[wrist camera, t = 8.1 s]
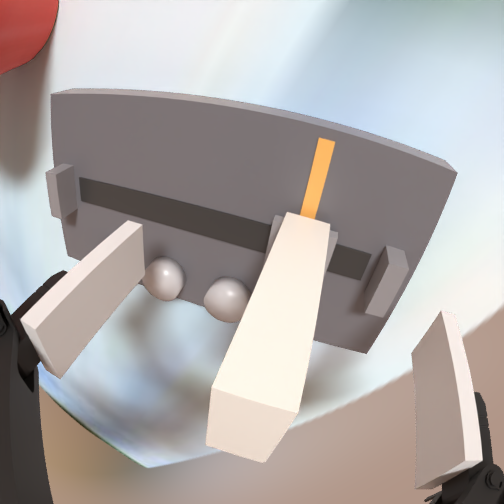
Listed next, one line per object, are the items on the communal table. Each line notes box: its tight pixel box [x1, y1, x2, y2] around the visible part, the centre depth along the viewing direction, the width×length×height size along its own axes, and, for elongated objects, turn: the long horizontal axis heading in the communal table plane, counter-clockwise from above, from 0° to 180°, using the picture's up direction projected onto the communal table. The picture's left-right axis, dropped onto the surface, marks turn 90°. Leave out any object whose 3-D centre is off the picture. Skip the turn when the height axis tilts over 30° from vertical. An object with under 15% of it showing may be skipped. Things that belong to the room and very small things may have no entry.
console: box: [46, 89, 457, 354], centre depth 16 cm, size 22×12×4 cm, turn 81°
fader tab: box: [206, 212, 338, 463], centre depth 11 cm, size 3×4×10 cm
